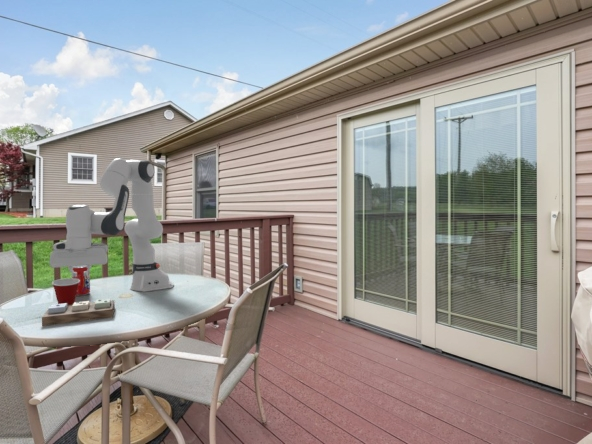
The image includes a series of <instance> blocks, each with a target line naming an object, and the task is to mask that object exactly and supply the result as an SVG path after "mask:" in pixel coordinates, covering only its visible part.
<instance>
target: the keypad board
mask: <svg viewBox="0 0 592 444" xmlns="http://www.w3.org/2000/svg"><path fill="white" fill-rule="evenodd" d="M95 302H96V301H94V302H89V303H90V307H89V309H86V310H77V311H72V305H67V310H66V312H59V313H50V314H48V309H47V310H46V311H45V313H44V314H43V315H42V316H41V326H42V327H46V326H54V324H55V325H61V324H62V325H63V324H71V323H77V322H79V323H80V322H85V321H86V322H87V321H94V320H102V319H109V318H111V319H112V318H113V317H114V312H115V308H116V307H115V300H114V299H113V300H112V299H111V306H110V307H104V308H95ZM45 325H46V326H45Z"/></svg>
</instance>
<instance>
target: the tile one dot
mask: <svg viewBox="0 0 592 444" xmlns="http://www.w3.org/2000/svg"><path fill="white" fill-rule="evenodd" d="M47 310H48V314H50V313H59V312H66V310H67V303H63V304H58V303H55V304H51V305H50V306H49V307H48V308H47Z"/></svg>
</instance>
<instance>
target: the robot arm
mask: <svg viewBox="0 0 592 444" xmlns="http://www.w3.org/2000/svg"><path fill="white" fill-rule="evenodd" d="M154 176H155V167H154V165H153V163H152V162H151V161H149V160H145V159H142V160H140V159H130V160H126V159H125V158H114V159H112V161H110V162H109V164H108V165H107V167H106V168H105V170H104V172H102V175H101V177H100V180H99V185H100V188H101V189H102V191H103V192H104V193H106V194H107V195H108V196H111V197H113V198H115V199H114V202H113V206H112V209H111V210H110V211H107V212H96V211H93V210H92V209H90V207H89V205H87V204H75V205H71V206H69V207H68V208H67V209H66V214H65V227H66V232H67V233H66V235H65V236H66V237H65V238H66V239H65V240H61V241H59V242H56V243H54V244H53V245H52V249H53V250H52V251H51V253H50V257H49V267H51V268H53V269H54V268H66V267H68V271H69V272H70V273H71V278H72V277H76V276H77V272H74V271H73V267H74V266H86V265H87V268H88V269H87V271H84V276H88V271H89V270H90V271H91V269H92V266H97V265H98V266H101V265H106V264H107V263H108V261H109V260H108V254H107V253H108V251H109V246H108V244H106V243H104V242H99V243H98V242H95V243H94V242H93V241H92V239H93V238H92V235H105V236H106V235H107V236H117V235H118V234H120V233H121V232H122V230H124V233H125V234H126V235H127V236H128V238H129V241H130V244H131V248H132V265H131V272H132V279H131V280H132V281H131V285H130V290H132V291H137V292H138V291H139V292H143V293H144V292H151V291H158V290H159V291H160V290H167V289H172V288H173V287H174V282H173V281H170V277H169V275H168V274H167V273H166V272H165V271H163V270H161V269H160V267H161V265H160V263H158V262H156V261H155V260H156V259H155V256H156V255H155V248H154V246H153V245H152V243H151V240H154V239H158V238H160V237H161V236H162V234H163V232H164V228H163V227H164V226H163V224H162V223H161V222H160V221H159V218H158V217H157V214H156V210H155V205H154V203H155V202H154V188H153V183H152V179H153V178H154ZM129 182H131V187H130V188H131V190H130V189H129V187H128V186H127V185H128V183H129ZM130 193H131V208H132V210H133V212H134V213H135V214H136V218H133V219H130V220H128V221H126V223H125V218H126V211H127V209H128V208H127V207H128V204H129V198H130Z"/></svg>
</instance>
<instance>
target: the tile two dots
mask: <svg viewBox="0 0 592 444" xmlns="http://www.w3.org/2000/svg"><path fill="white" fill-rule="evenodd" d="M111 301H112V299H111V298H106V299H95V301H94V302H95V308H104V307H110V306H111Z"/></svg>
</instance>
